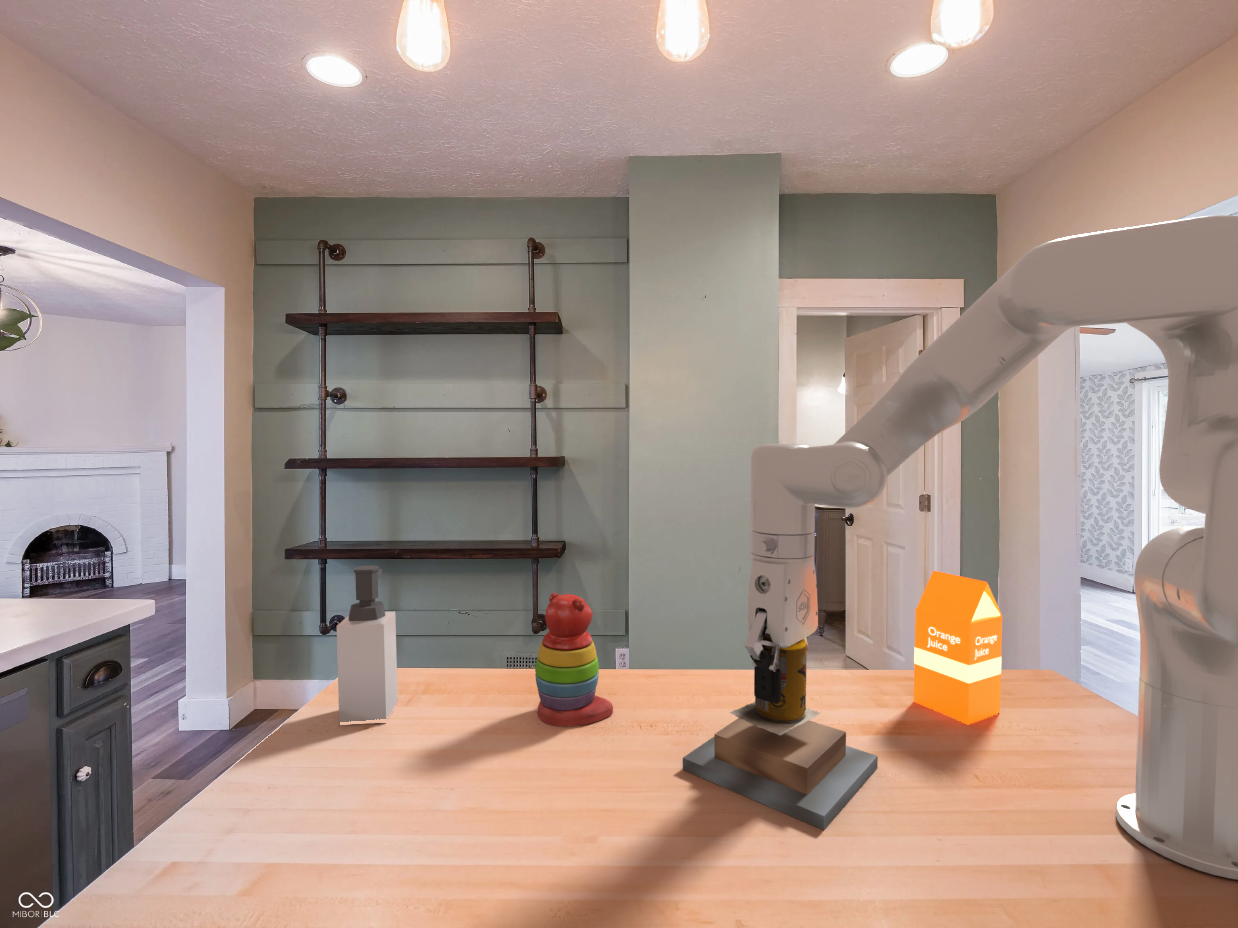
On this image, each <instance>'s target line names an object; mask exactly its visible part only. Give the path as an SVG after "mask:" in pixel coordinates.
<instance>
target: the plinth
mask: <svg viewBox="0 0 1238 928" xmlns="http://www.w3.org/2000/svg"><path fill="white" fill-rule="evenodd" d="M878 757H879V756H878V755H876V754H873V753H870V752H867V751H864V750H861V749H859V748H855V747H851V746H850V745H849V746H848V745H847V731H846V730H845V731H844V730H841V729H838V728H836V727H835V728H834V727H832V726H829V725H825V724H822V723H819V722H816V721H813V720H809V721H807V722H805V723H803V724H801V725H798V726H796V727H794V728H793V729H790V730H789V731H788V732H785V733H783V734H782V735H778V734H776V733H773V732H770V731H768V730H766V729H763V728H760V727H759V728H758V727H757V726H756V725H753V724H751V723H749V722H746V721H745V720H742V719H740V718H738V717H737V719H735V720H734V721H732V722H730V723H729V724H727V725H726V726H725V727H723V728H722V729H720V730H719V731H717V732H716V733H714V735H713V737H711V738H710V739H708V740H707V741H705V742H704V743H702V744H701V745H699V746H698V747H696V748H695V749H693V750H692V751H690V752H689V753H688V754H685V755H684V756H683V757H682V770H683V771H685V772H687V773H690V774H692V775H694V776H697V777H699V778H702V779H704V780H706V781H709V782H711V783H713V784H716V785H718V786H720V787H723V788H725V789H727V790H730V791H732V792H734V793H737V794H739V795H741V796H743V797H746V798H748V799H750V800H753V801H754V802H757V803H760V804H762V805H764V806H766V807H769V808H772V809H774V810H776V811H778V812H780V813H784V814H785V815H787V816H790V817H792V818H795V819H797V820H799V821H802V822H804V823H807V824H809V825H812V826H813V827H816V828H818V829H821V830H822V831H823V830H824V831H825V830H826V829H827V828H828V826H829V825H830V824H831V822H833V820H834V819H835V818H836V817H837V815H838V814H839V813H840V812H841V811H842V810H843V809H844V808H845V807H846V805H847V804H848V803H849V802H850V801H851V799H852V798H853V797H854V796H855V795H856V794H857V792H858V791H859V790H860V789H861V788H862V787H863V785H864V784H865V783H866V782H867V781H868V780H869V778H870V777H871V776H872V775H873V774H874V772H876V770H877V769H878V765H879V764H878V762H879V761H878V759H879V758H878Z"/></svg>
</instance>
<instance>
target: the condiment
mask: <svg viewBox="0 0 1238 928" xmlns="http://www.w3.org/2000/svg"><path fill="white" fill-rule="evenodd" d="M764 640H766V641H770V642H773V641H772V639H771V637H770V636H766V635H764ZM763 650H765V651H767V653H768V654H769V656H770V657H771V653H772V647H768V646H764V647H763ZM777 669H780V670H781V701H780V702H779V703H778V704H774V703H771V702H768V701H765V700H761V699H758V698H756V697H755V696H754V697H755V698H754V699H755V700H754V702H751V703H748V704H746V705H744V706H741V707H740V708H737V709H734V710H732V711H730V712H729V714H731V715H733V716H735V717H736V718H737V719H738V718H740V719H742V720H745V721H746V722H749V723H751V724H753V725H756V726H757V727H758V728H759V727H760V728H763V729H766V730H768V731H770V732H773V733H776V734H778V735H782V734H783V733H785V732H788V731H789V730H790V729H793V728H794V727H796V726H798V725H801V724H803V723H805V722H807V721H811V720H812V719H814V718H816V717H817V716H819V715H820V714H821V712H818V711H816V710H813V709H810V708H807V706H806V704H807V702H806V701H807V698H806V697H807V652H806V642H805V640H804V639H802V640H801V641H799V642H797V643H795V644H794V645H792V646H790V647H788V648H781V652H780V657H779V663H778V668H777Z"/></svg>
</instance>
